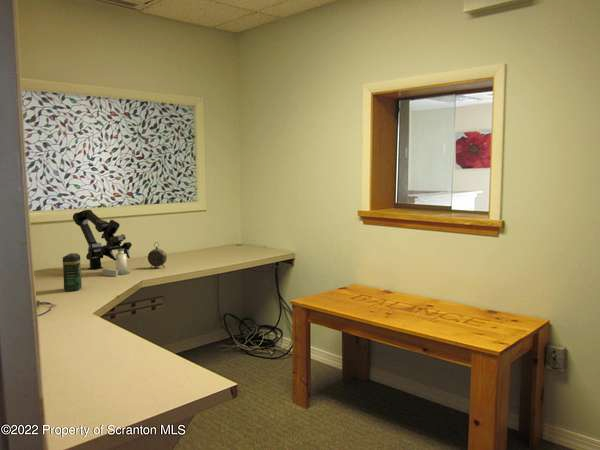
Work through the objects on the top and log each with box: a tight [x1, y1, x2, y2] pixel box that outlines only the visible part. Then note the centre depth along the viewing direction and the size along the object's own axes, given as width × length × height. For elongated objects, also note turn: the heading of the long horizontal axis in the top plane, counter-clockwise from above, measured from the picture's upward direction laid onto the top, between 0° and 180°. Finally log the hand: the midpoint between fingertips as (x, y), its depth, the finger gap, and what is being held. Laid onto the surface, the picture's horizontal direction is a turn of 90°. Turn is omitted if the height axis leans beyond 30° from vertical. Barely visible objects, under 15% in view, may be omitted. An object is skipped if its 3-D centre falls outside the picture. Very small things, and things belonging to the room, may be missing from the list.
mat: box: [118, 270, 131, 276], centre depth 304 cm, size 9×9×1 cm
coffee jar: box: [62, 252, 83, 292], centre depth 263 cm, size 10×8×19 cm
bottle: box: [115, 249, 128, 274], centre depth 304 cm, size 6×6×14 cm
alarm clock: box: [147, 242, 168, 269], centre depth 320 cm, size 11×5×16 cm, turn 84°
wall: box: [101, 268, 119, 278], centre depth 298 cm, size 11×1×4 cm, turn 62°
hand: (122, 259), depth 303 cm, fingers open, 9 cm apart
